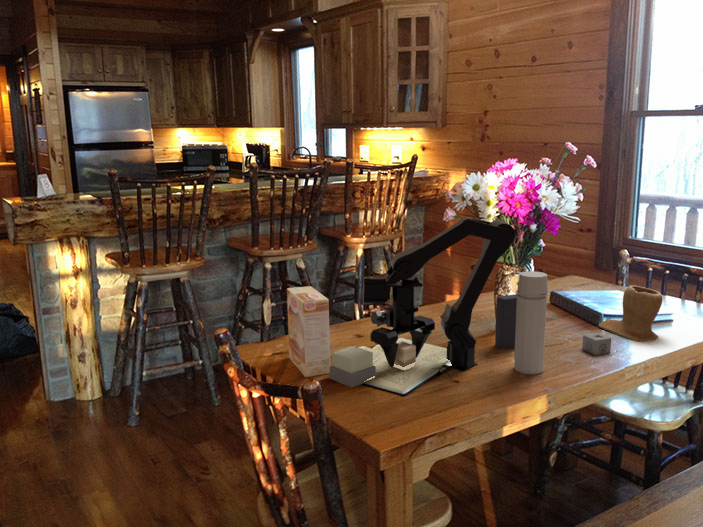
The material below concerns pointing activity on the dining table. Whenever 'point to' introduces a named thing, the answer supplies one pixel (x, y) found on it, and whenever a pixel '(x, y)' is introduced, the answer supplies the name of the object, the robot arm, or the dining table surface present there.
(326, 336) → the coffeecake box
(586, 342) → the grey cube
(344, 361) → the tower top
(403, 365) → the wood block
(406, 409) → the dining table surface
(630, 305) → the brown hollow flared piece
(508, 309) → the dark upright pillar
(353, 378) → the tower base
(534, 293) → the water bottle
